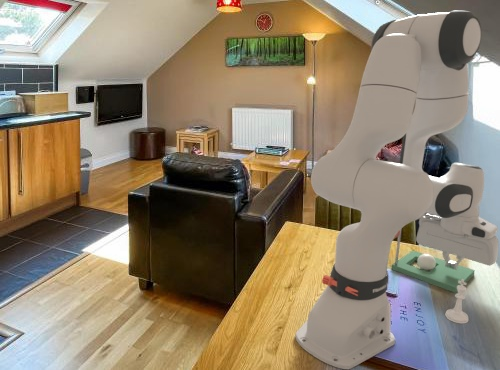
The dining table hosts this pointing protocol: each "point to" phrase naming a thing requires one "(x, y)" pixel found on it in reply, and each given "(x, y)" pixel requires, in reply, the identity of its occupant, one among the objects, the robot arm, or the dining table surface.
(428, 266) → the ball
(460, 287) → the chess piece
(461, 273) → the putting mat
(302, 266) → the dining table surface
